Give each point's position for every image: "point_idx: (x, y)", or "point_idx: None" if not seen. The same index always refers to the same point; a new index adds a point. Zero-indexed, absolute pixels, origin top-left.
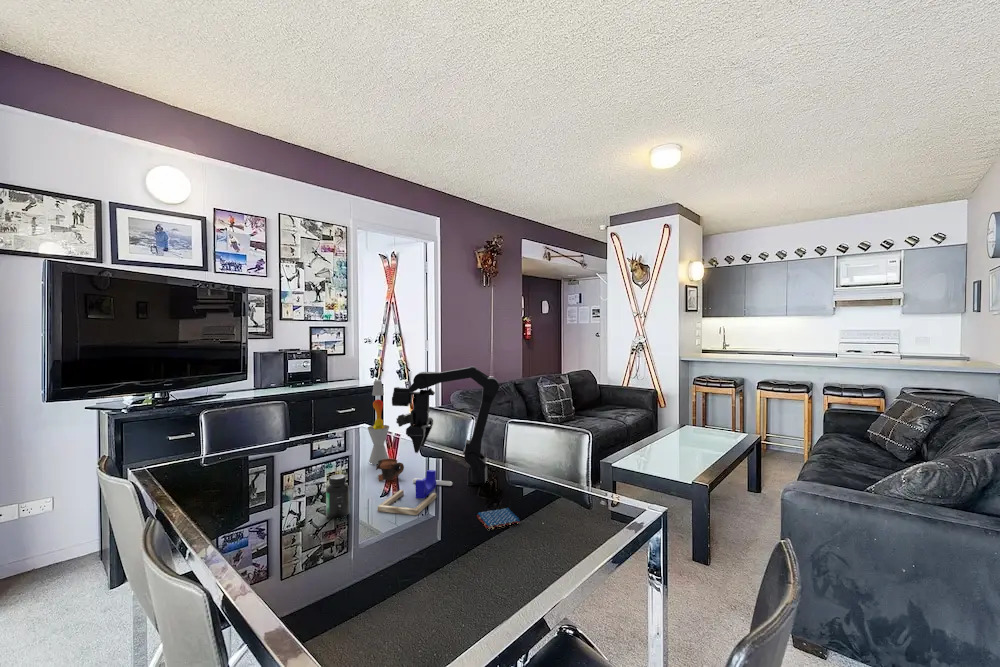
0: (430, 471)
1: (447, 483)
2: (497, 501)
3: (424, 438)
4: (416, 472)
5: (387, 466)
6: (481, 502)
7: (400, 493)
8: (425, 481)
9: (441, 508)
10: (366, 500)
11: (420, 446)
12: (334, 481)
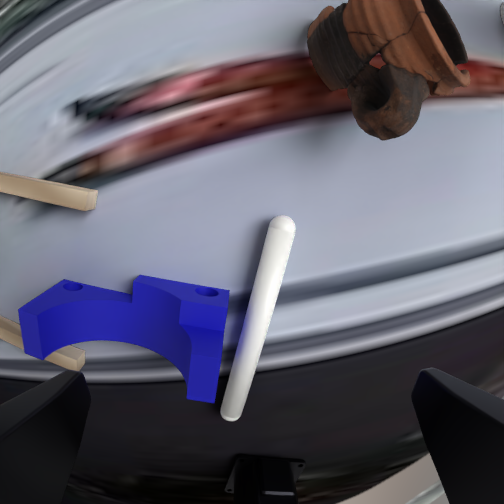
0: (189, 377)
1: (222, 404)
2: (112, 496)
3: (457, 470)
4: (445, 202)
5: (359, 28)
6: (92, 470)
7: (59, 204)
8: (46, 355)
9: (16, 376)
10: (40, 67)
11: (59, 474)
12: None
